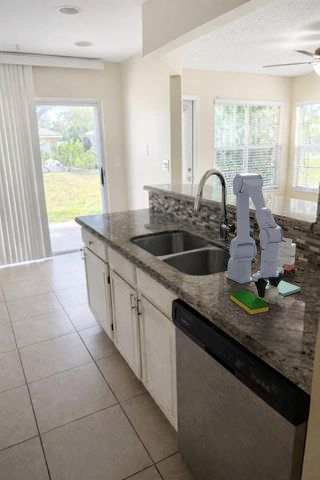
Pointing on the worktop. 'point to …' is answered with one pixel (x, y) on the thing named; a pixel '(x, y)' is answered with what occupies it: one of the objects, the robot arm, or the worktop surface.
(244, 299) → the dish sponge
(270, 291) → the white rounded piece
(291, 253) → the ink cartridge box
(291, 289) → the teal mat
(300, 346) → the worktop surface
